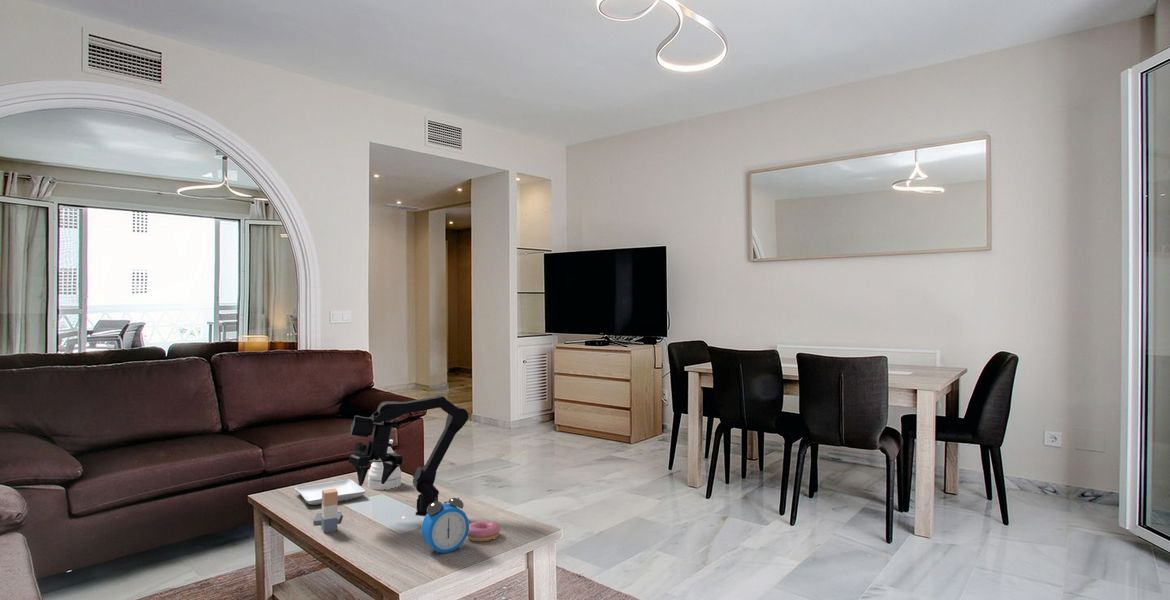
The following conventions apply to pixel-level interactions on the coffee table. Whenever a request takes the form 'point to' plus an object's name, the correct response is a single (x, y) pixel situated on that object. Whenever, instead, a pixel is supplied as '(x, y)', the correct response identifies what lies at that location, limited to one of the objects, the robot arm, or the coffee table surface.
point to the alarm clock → (445, 525)
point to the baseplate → (319, 518)
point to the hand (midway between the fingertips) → (371, 484)
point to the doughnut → (483, 531)
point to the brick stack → (329, 510)
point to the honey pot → (377, 472)
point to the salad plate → (344, 488)
